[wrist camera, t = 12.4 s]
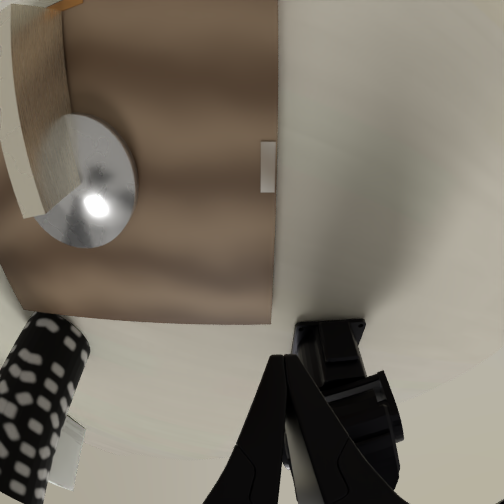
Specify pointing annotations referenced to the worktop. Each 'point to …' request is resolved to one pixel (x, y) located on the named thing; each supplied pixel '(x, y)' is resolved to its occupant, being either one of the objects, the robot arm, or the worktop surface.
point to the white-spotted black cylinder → (37, 402)
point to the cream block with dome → (58, 138)
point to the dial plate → (167, 165)
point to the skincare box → (67, 455)
